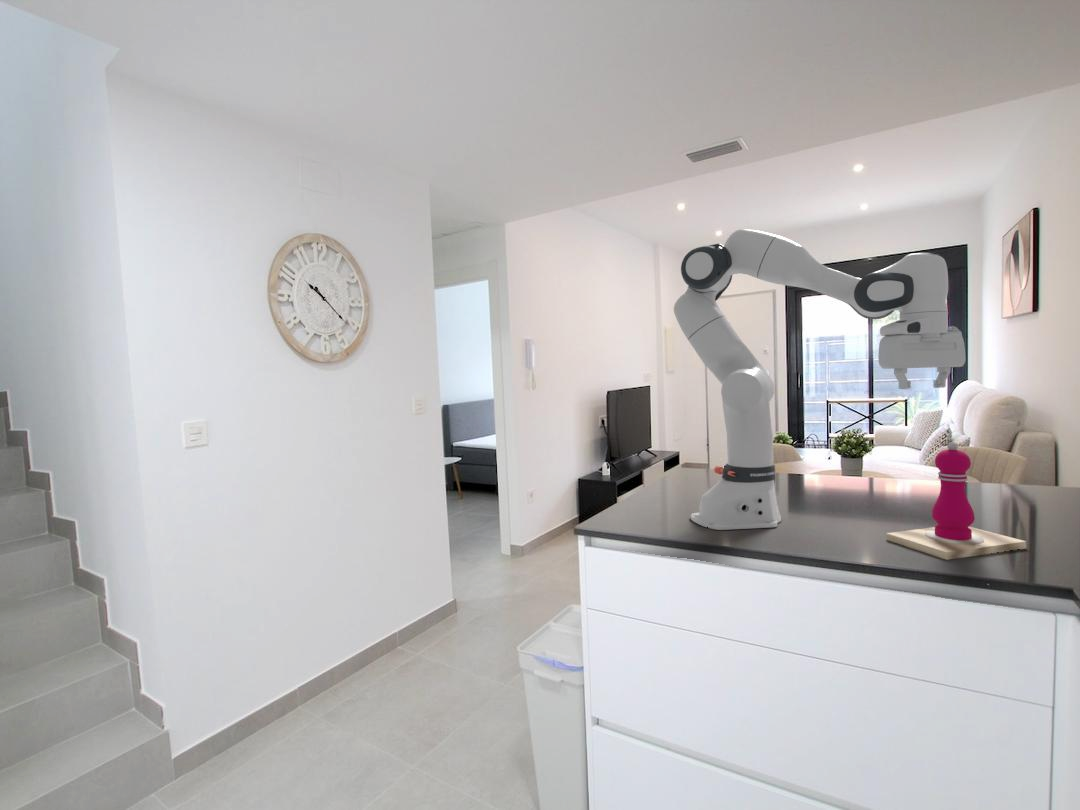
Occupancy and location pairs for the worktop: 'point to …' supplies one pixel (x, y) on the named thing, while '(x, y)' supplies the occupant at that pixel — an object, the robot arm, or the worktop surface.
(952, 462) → the pepper mill
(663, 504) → the worktop surface
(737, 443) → the robot arm
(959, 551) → the oak board
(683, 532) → the worktop surface
